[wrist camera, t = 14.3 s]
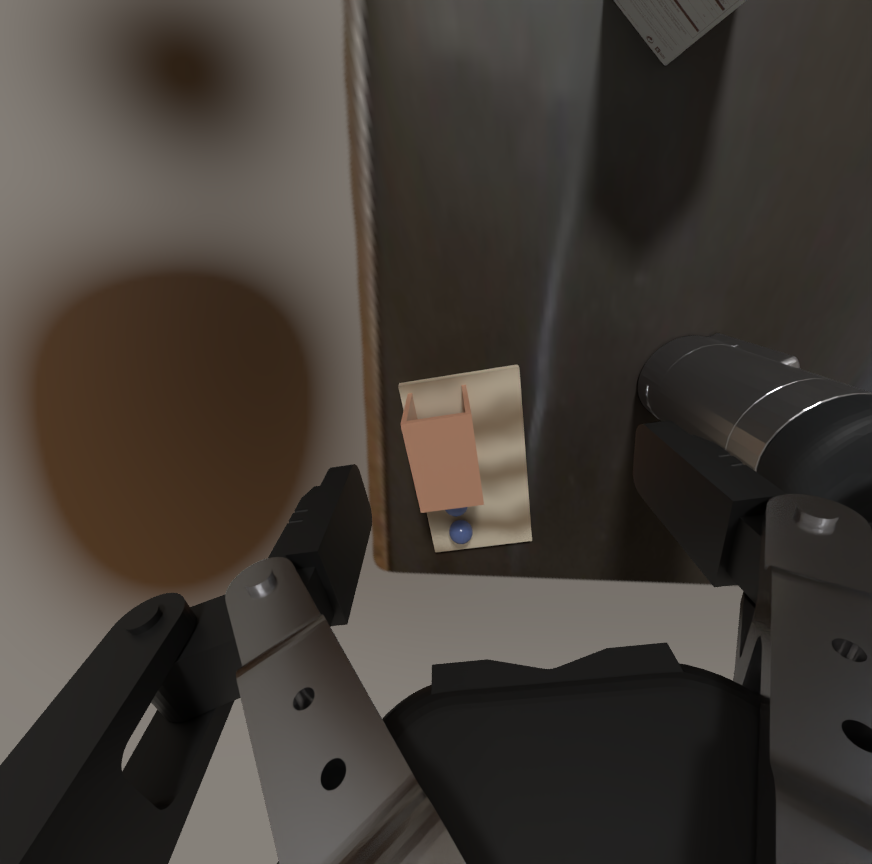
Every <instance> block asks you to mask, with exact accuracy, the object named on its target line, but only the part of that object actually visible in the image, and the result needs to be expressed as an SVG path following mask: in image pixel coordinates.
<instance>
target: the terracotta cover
mask: <svg viewBox="0 0 872 864" xmlns="http://www.w3.org/2000/svg"><path fill="white" fill-rule="evenodd" d="M461 386H462V393H463V400H464V407H465V412H463V413H456V414H450V415H443V416H436V417H430V418H423V419H418V418H417V414H416V409H415V404H414V399H413V394H412V393H408V394H407V399H406V403H405V407H404V412H403V416H402V421H401V428H402V433H403V437H404V441H405V446H406V450H407V454H408V459H409V463H410V467H411V471H412V476H413V480H414V484H415V489H416V493H417V497H418V502H419V506H420V510H421V513H424V512H432V511H440V510H447V509H455V508H463V507H471V506H478V505H484V501H483V493H482V486H481V479H480V472H479V465H478V457H477V450H476V443H475V436H474V429H473V421H472V414H471V409H470V403H469V398H468V393H467V387H466V385H461Z"/></svg>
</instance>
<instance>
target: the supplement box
mask: <svg viewBox="0 0 872 864" xmlns="http://www.w3.org/2000/svg"><path fill="white" fill-rule="evenodd" d="M745 1H747V0H614V2H615V3H616V4H617V6H618V7H619V8H620V9H621V11H622V12H623V14H624V15H625V16H626V17H627V19H628V20H629V21H630V22H631V24H632V25H633V27H634V28H635V29H636V30H637V32H638V33H639V34H640V35H641V37H642V38H643V39H644V41H645V42H646V43H647V45H648V46H649V47H650V48H651V50H652V51H653V52H654V53H655V55H656V56H657V57H658V59H659V60H660V61H661V62H662V63H663V64H664V65H665V66H666V65H668V64H669V63H670V62H671V61H673V60H674V59H675V58H676V57H678V56H679V55H680V54H681V53H682V52H683V51H685V50H686V49H687V48H688V47H689V46H691V45H692V44H693V43H694V42H696V41H697V40H698V39H699V38H701V37H702V36H703V35H704V34H706V33H707V32H708V31H709V30H711V29H712V28H713V27H714V26H716V25H717V24H718V23H719V22H721V21H722V20H723V19H724V18H725V17H727V16H728V15H729V14H730V13H732V12H733V11H734V10H735V9H737V8H738V7H739V6H740V5H742V4H743V3H744V2H745Z"/></svg>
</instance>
